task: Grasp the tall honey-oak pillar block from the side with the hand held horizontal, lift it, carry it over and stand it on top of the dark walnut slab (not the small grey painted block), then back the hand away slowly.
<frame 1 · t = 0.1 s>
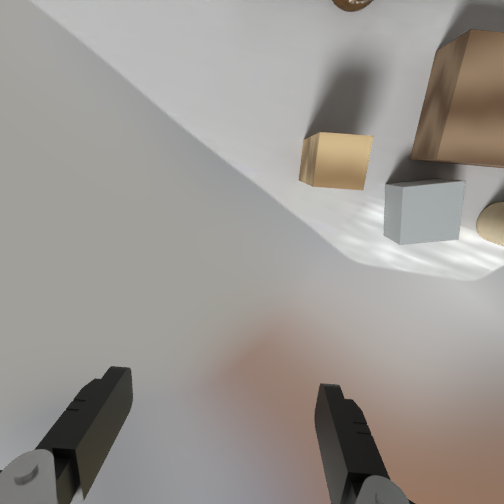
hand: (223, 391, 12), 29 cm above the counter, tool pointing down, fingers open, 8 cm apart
oak pillar: (320, 161, 37), on the counter
candle: (495, 221, 39), on the counter
grey block: (410, 207, 39), on the counter
walnut block: (473, 113, 35), on the counter
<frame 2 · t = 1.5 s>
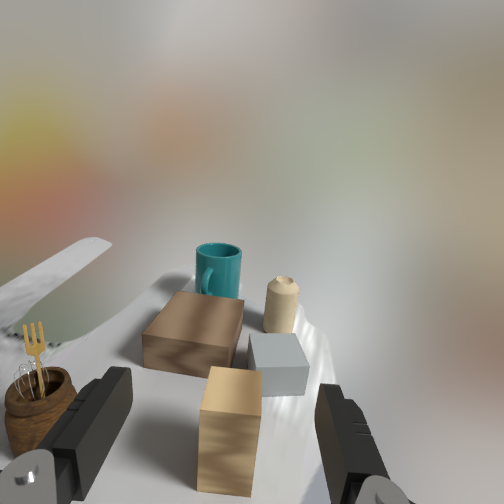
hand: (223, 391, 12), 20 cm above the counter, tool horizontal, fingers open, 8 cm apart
oak pillar: (227, 466, 29), on the counter
candle: (277, 329, 52), on the counter
grey block: (273, 377, 41), on the counter
cup: (213, 303, 59), on the counter
utensil holder: (49, 437, 30), on the counter
walnut block: (198, 347, 46), on the counter
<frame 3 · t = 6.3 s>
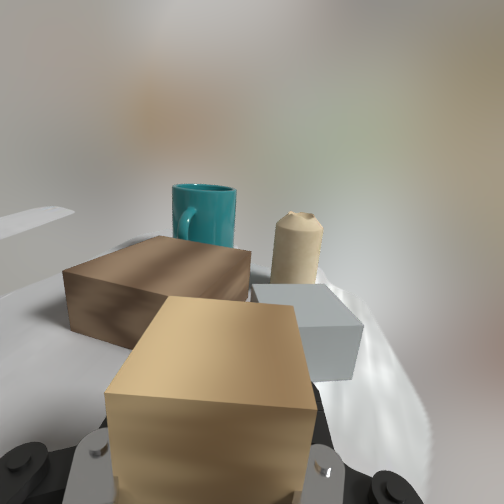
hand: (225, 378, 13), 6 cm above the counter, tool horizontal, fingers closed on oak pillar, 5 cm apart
candle: (290, 293, 36), on the counter
grey block: (294, 353, 25), on the counter
cup: (199, 265, 43), on the counter
walnut block: (172, 314, 29), on the counter
when the fingers open (13 cm above the counter, at t = 11.1 s): oak pillar stays where it is, resting on walnut block.
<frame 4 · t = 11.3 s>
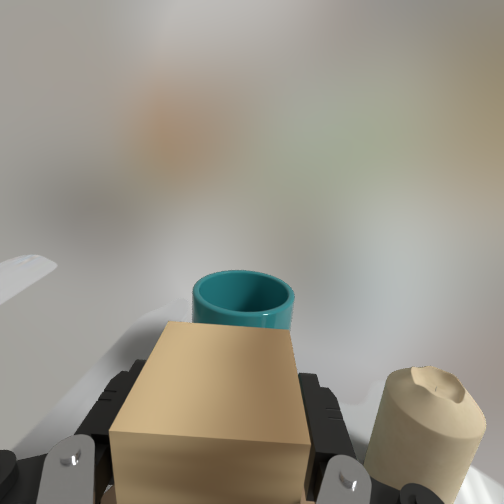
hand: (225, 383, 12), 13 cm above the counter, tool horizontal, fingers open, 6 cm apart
candle: (400, 492, 21), on the counter
cup: (232, 401, 28), on the counter
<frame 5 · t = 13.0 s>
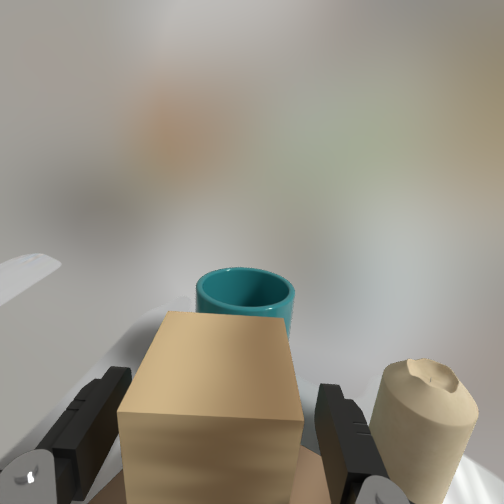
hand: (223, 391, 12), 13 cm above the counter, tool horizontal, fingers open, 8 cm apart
candle: (397, 481, 22), on the counter
cup: (234, 395, 28), on the counter
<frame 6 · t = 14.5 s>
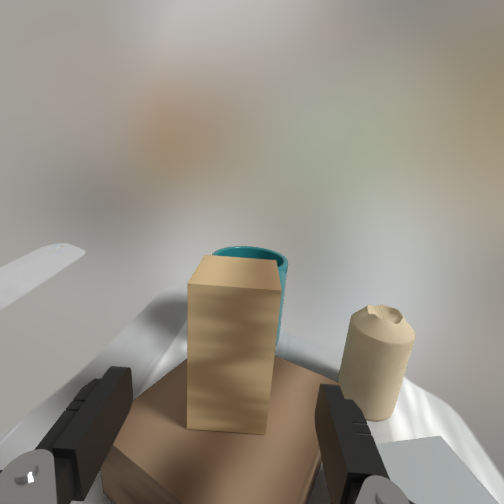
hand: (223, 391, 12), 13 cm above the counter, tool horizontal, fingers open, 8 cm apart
oak pillar: (230, 400, 20), point 6 cm above the counter
candle: (363, 400, 29), on the counter
cup: (240, 346, 36), on the counter
walnut block: (230, 464, 22), on the counter
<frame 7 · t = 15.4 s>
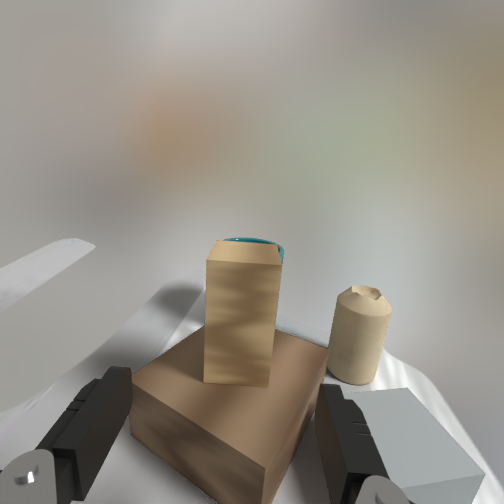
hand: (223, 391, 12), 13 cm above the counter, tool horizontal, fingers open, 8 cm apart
oak pillar: (238, 362, 24), point 6 cm above the counter
candle: (349, 369, 33), on the counter
grey block: (383, 478, 22), on the counter
walnut block: (235, 417, 26), on the counter
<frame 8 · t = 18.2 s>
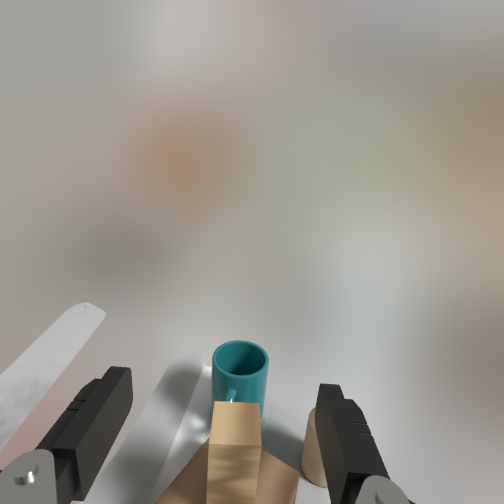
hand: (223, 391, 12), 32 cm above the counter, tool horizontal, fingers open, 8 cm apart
oak pillar: (230, 489, 32), point 6 cm above the counter, touching walnut block
candle: (319, 468, 41), on the counter
cup: (234, 419, 48), on the counter
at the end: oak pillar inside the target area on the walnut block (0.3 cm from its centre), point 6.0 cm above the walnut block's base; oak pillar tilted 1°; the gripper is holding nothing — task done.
